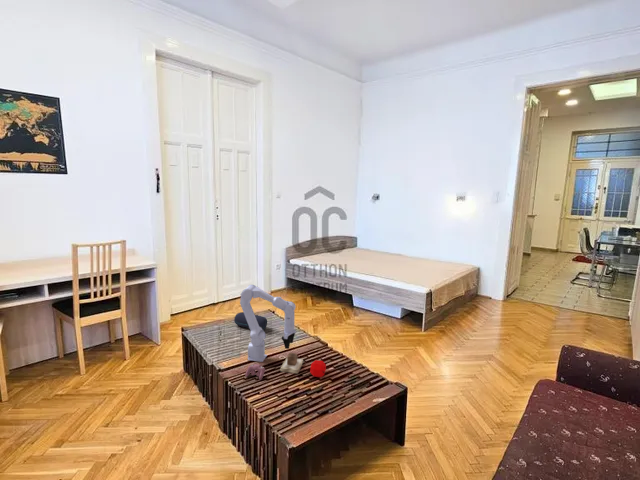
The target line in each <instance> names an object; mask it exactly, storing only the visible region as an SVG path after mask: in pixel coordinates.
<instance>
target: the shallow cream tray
mask: <svg viewBox="0 0 640 480" xmlns="http://www.w3.org/2000/svg"><path fill="white" fill-rule="evenodd" d="M284 359H285V360H284V361H283V363H282V365H281V367H280V372H283V373H291V374H299V372H300V370H301V368H302V365H303V363H304V359H303V358H297V363H296V365H295V366H294V365H287V357H286V358H284Z"/></svg>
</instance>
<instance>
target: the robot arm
mask: <svg viewBox="0 0 640 480" xmlns="http://www.w3.org/2000/svg"><path fill="white" fill-rule="evenodd" d="M257 298H260V299H263V300H265V301H267V302H270V303H271V304H272V306H273V307H274V308H277V309H279V310H281V311H283V314H284V322H283V323H284V326H283V327H284V330H283V334H284V335H282V336H281V340H282V342H283V346H284V349H287V350H289V349H290V345H291V344H293V342H294V339H295V335H296V333H297V330H296V329H295V310H296V307H297V306H296V303H294V302H293V301H288V300H285V299H283V297H281V296H273V295H271V294H270V293H268V292H266V291H264V290H263V289H261V288H260V287H259V286H256V285H254V284H249V285H248V286H247V287H245V288H244V289H243V290H242V291H241V293H240V300H239V304H240V307H241V310H242V311H243V312H244V315H245V317H246V320H247V323H248V325H249V328H248V329H249V330H250V334H249V335H250V342H249V343H248V347H247V359H248V360H247V361H252V362H253V361H254V362H261V363H262V362H264V361H265V359H266V358H267V356H268V355H267V354H266V353H265V351H266V350H265V347H266V346H265V339H266V338H267V337H266V336H267V333H266V332H265V330H262V328H261V327H259V325H258V322H257V320H256V317H255V315H256V314H255V312H254V309H253V308H252V305H251V300H252V299H257Z"/></svg>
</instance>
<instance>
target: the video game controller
mask: <svg viewBox="0 0 640 480" xmlns="http://www.w3.org/2000/svg"><path fill="white" fill-rule="evenodd" d="M256 371H257V372H256ZM265 372H266V368H265V367H264V366H262V365H261V364H255V363H254V364H250V365H249V366H248V368H247V370H246V372H245V378H247V377H248V376H249V375H250V374H251V376H255V375H256V377H258V380H260V381H261V380H262V379H263V377H264V375H265Z"/></svg>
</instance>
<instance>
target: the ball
mask: <svg viewBox="0 0 640 480" xmlns="http://www.w3.org/2000/svg"><path fill="white" fill-rule="evenodd" d="M326 371H327V364H326V363H325V362H324V360H317V359H315V360H314V361H312V362H311V364H310V369H309V373H310V375H312V376H313V377H314V378H315V377H316V378H323V376H325V375H326Z"/></svg>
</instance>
